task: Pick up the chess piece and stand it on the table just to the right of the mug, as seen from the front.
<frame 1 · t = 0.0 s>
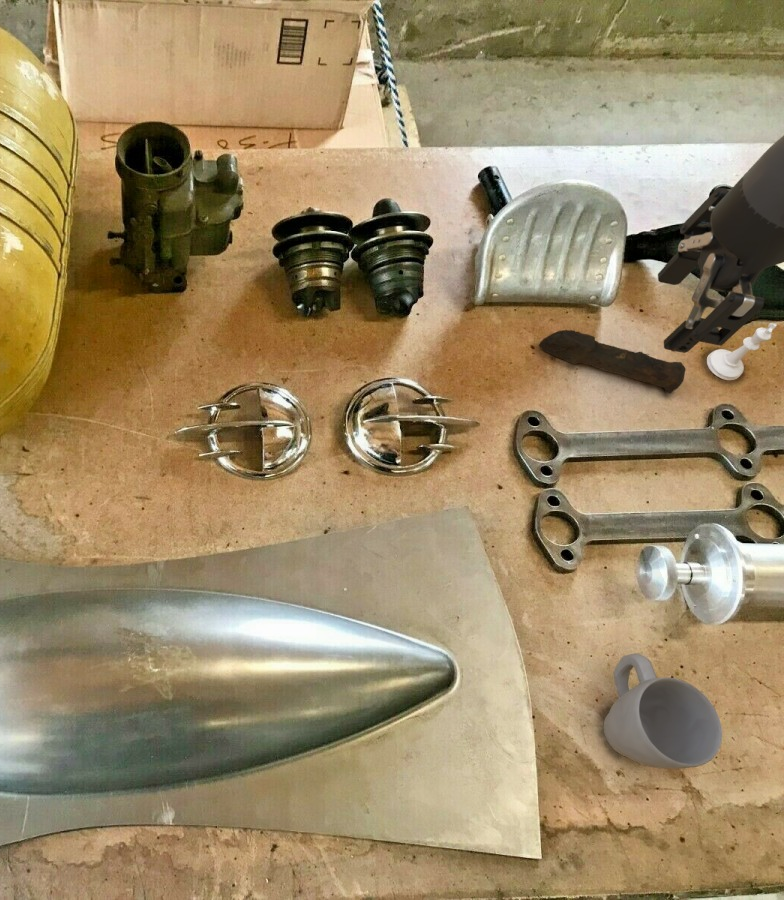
hand: (669, 313, 79), 29 cm above the workbench, tool pointing down, fingers open, 8 cm apart
chess piece: (722, 366, 113), on the workbench
mug: (620, 718, 90), on the workbench
hand tool: (602, 370, 111), on the workbench
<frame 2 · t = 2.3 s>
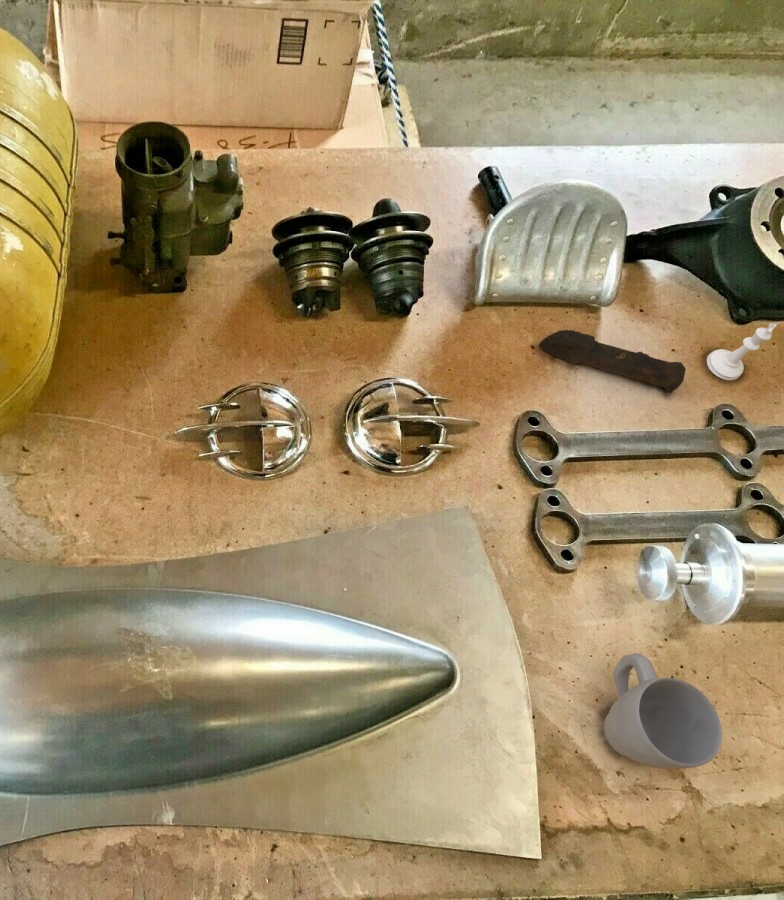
nothing on the workbench moved.
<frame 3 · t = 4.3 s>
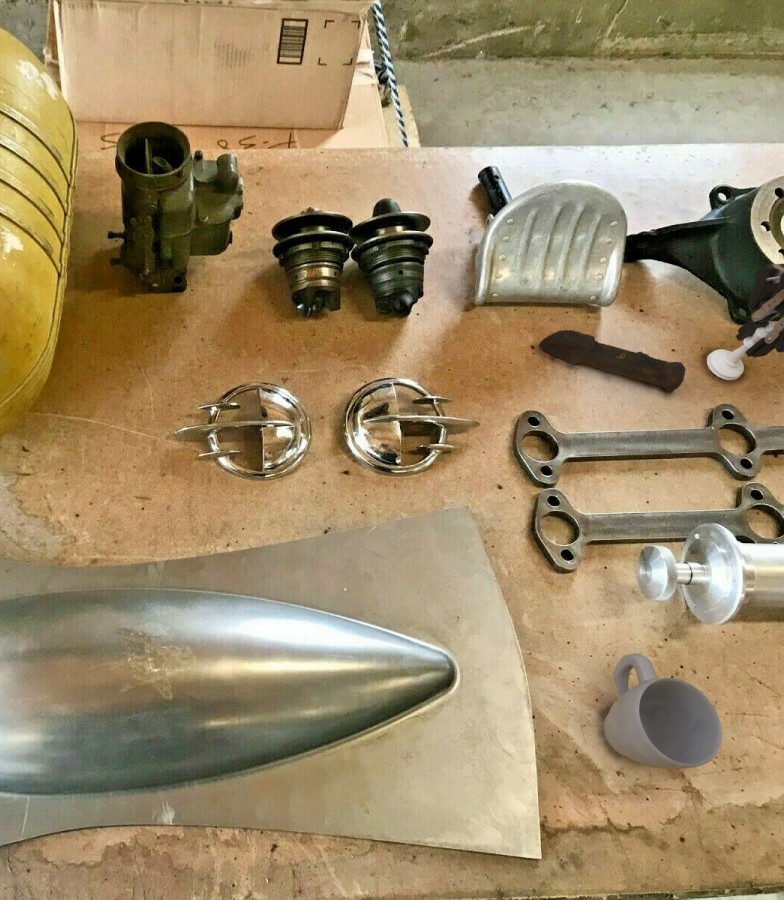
hand: (747, 345, 108), 5 cm above the workbench, tool pointing down, fingers closed on chess piece
chess piece: (722, 366, 113), on the workbench, touching gripper
everything else where it was.
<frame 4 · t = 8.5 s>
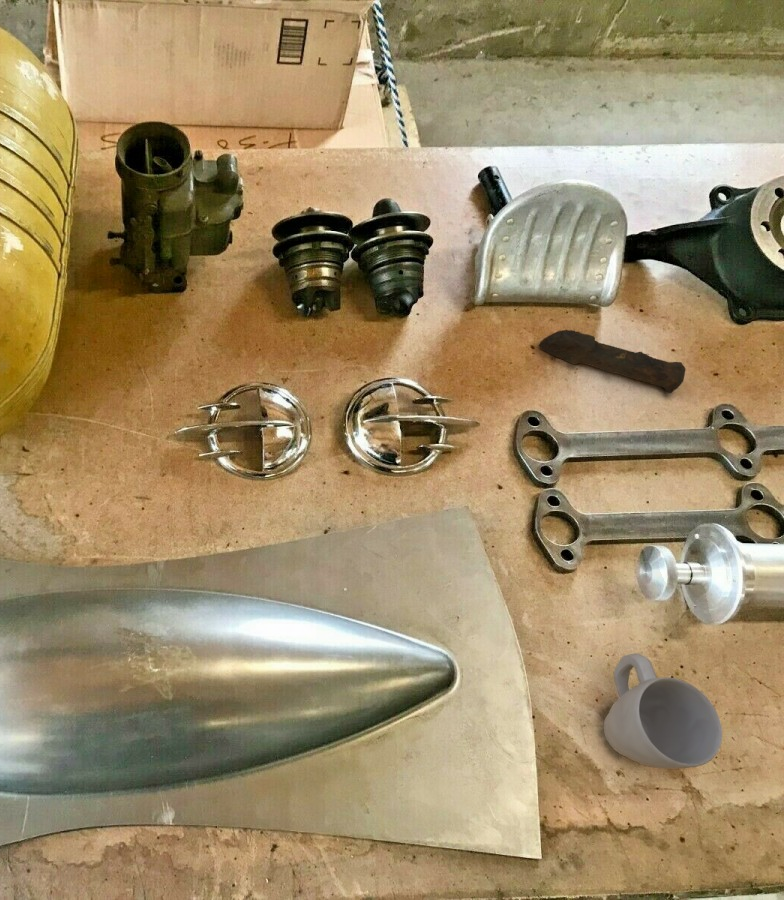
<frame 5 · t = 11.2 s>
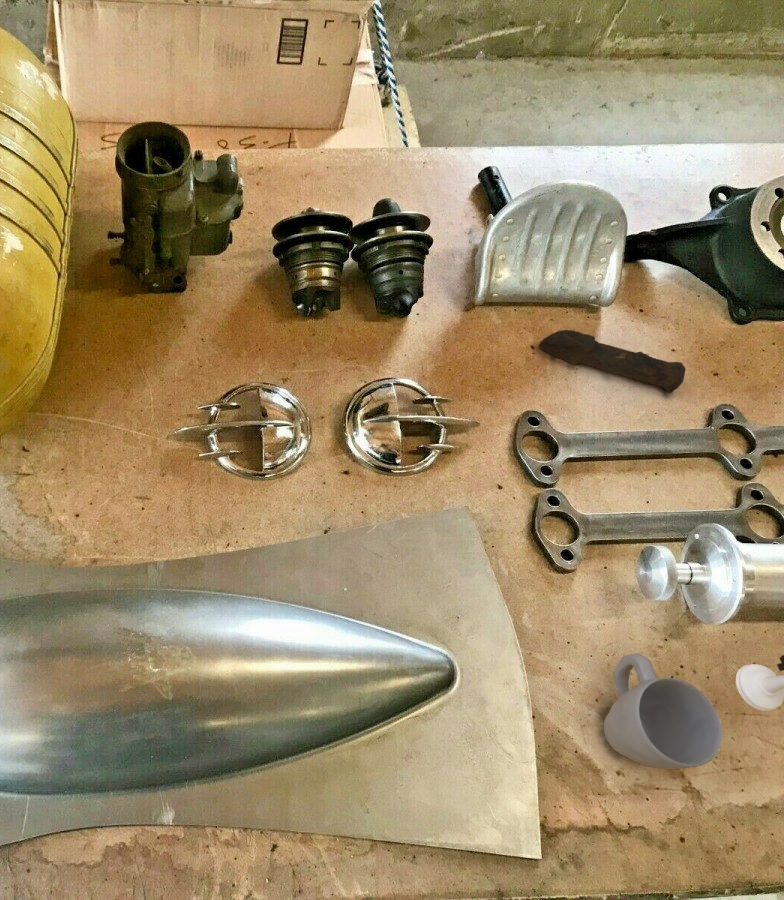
chess piece: (756, 687, 86), point 6 cm above the workbench, touching gripper
everything else where it was.
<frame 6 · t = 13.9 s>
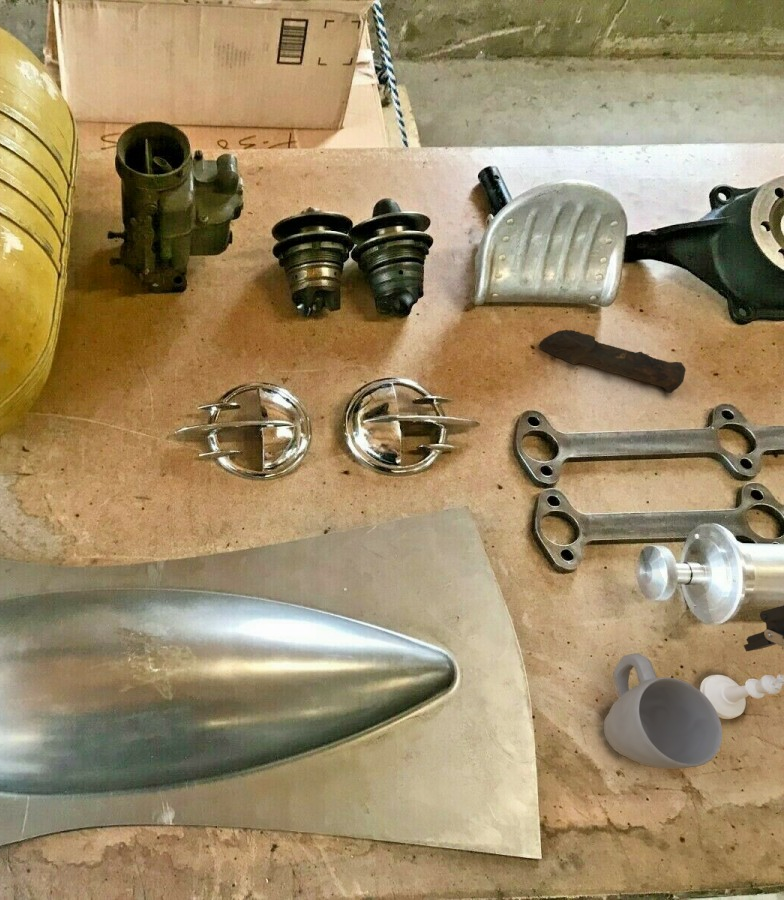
hand: (771, 686, 84), 8 cm above the workbench, tool pointing down, fingers open, 8 cm apart
chess piece: (719, 697, 92), on the workbench
everything else where it was.
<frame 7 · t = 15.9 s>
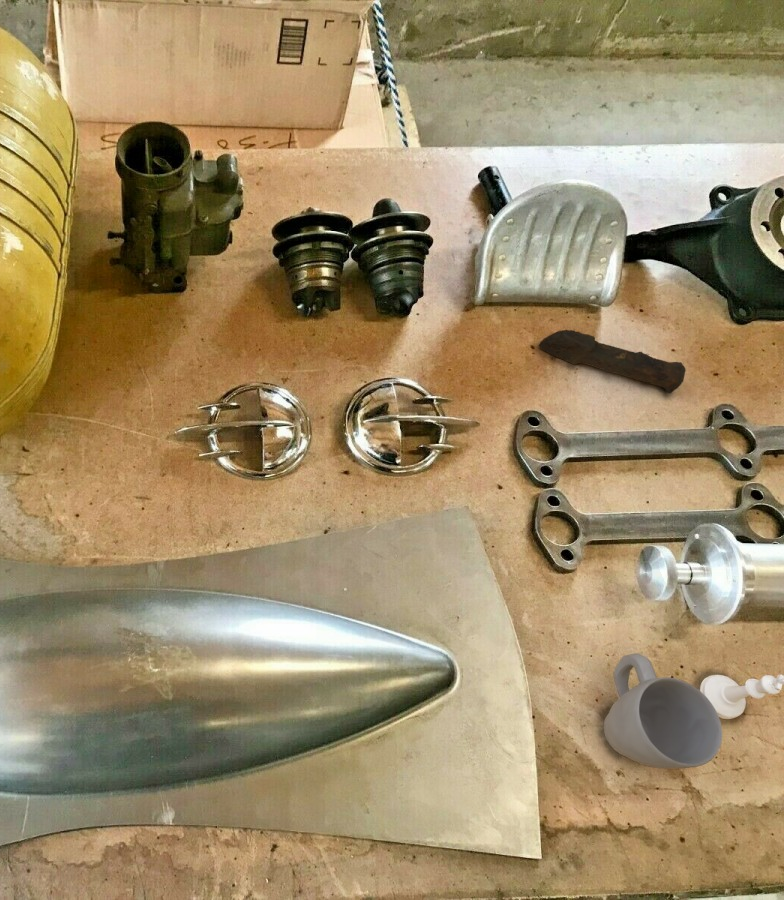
nothing on the workbench moved.
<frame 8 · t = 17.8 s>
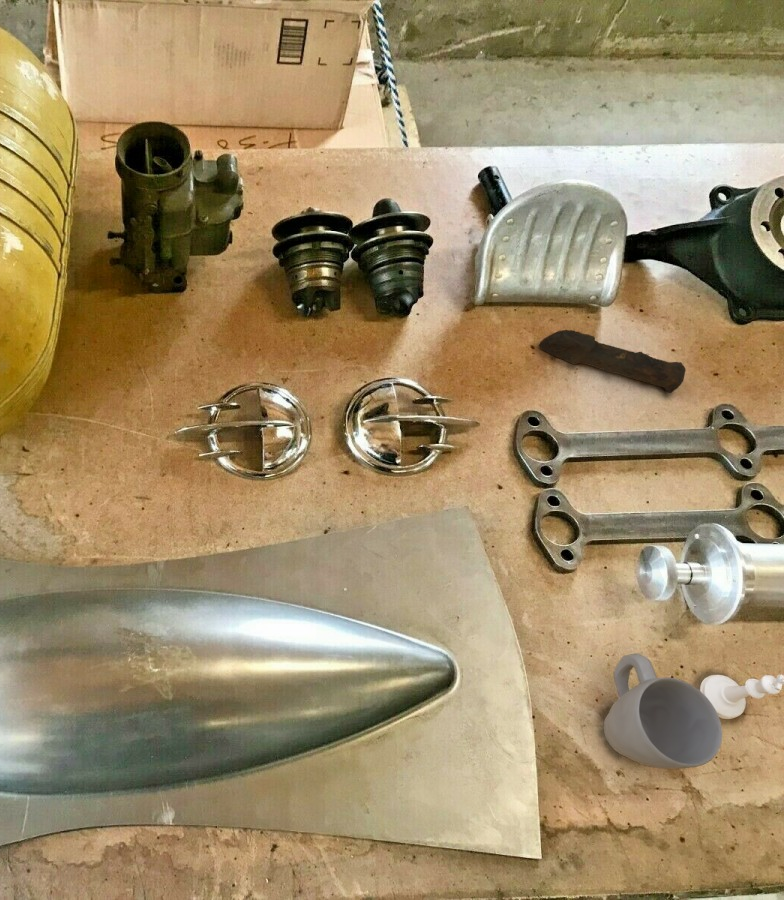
nothing on the workbench moved.
at the end: chess piece inside the target area on the workbench beside the mug (0.1 cm from its centre), on the workbench; chess piece tilted 0°; mug moved 0.2 cm from its start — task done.
